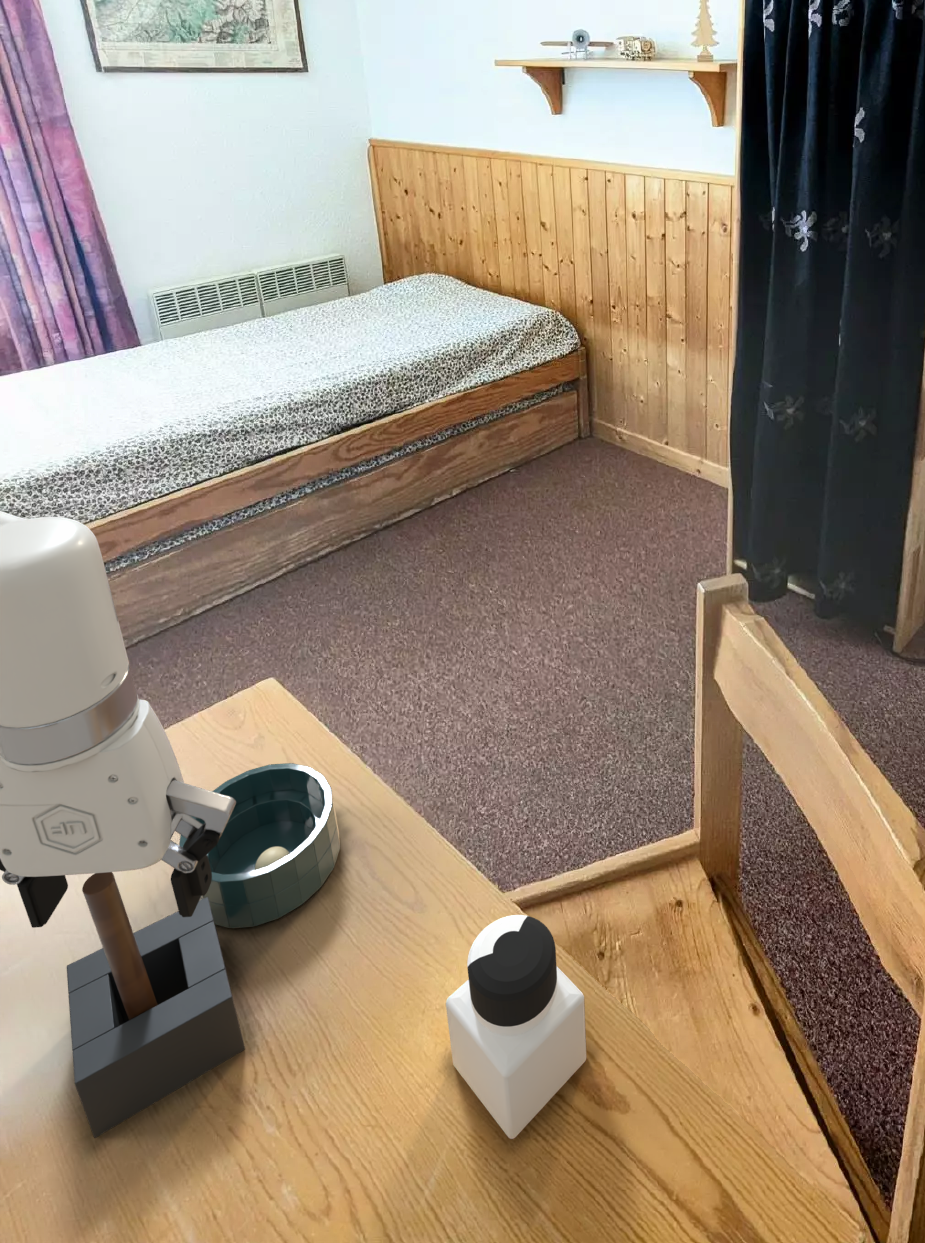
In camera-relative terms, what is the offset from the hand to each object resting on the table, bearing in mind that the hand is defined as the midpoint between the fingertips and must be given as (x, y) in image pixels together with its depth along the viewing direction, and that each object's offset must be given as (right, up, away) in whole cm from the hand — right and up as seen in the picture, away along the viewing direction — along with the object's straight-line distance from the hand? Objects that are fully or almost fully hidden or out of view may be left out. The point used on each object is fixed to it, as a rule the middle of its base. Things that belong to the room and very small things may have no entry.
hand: (123, 903), depth 60 cm
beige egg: (+3, -7, +16) cm, 18 cm away
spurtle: (0, -14, +4) cm, 14 cm away
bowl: (+2, -8, +18) cm, 20 cm away
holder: (0, -13, +5) cm, 14 cm away
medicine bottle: (+27, -14, +3) cm, 31 cm away
